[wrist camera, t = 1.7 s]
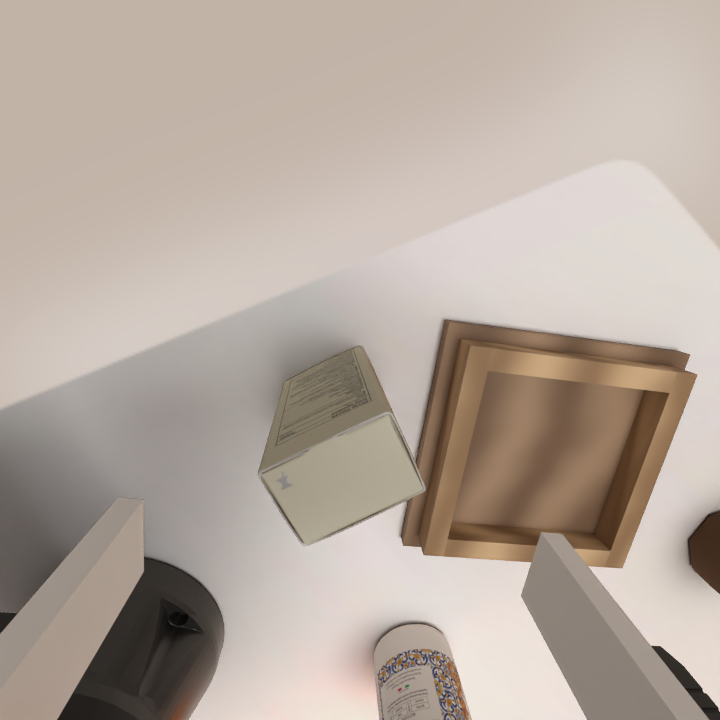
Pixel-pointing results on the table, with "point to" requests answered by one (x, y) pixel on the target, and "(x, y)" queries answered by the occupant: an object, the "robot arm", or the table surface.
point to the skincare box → (336, 450)
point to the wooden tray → (542, 443)
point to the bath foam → (417, 676)
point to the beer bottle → (707, 551)
